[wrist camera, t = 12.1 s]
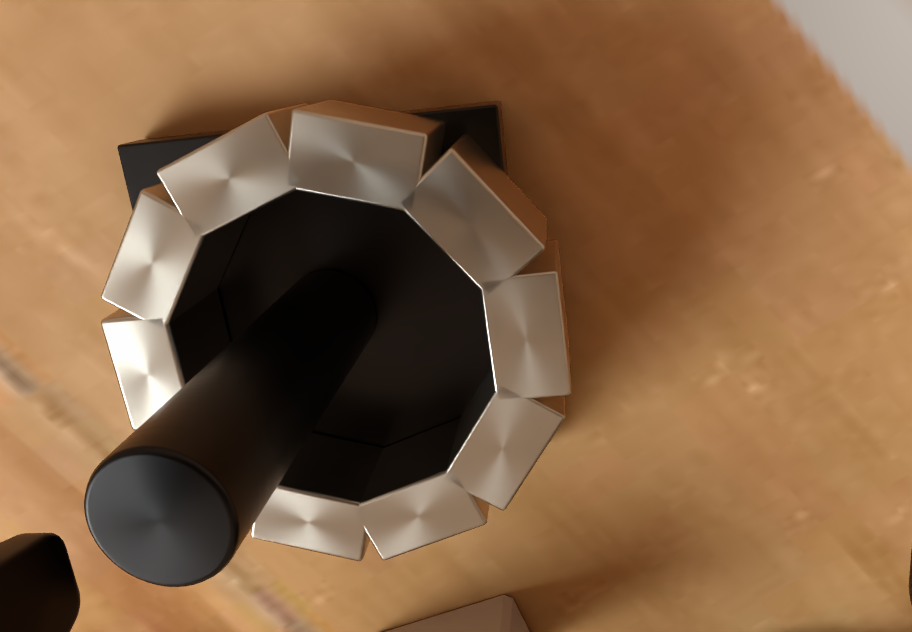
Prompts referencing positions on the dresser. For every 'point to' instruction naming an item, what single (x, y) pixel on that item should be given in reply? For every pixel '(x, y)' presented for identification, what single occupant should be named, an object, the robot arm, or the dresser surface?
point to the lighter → (474, 619)
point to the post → (293, 363)
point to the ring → (449, 226)
